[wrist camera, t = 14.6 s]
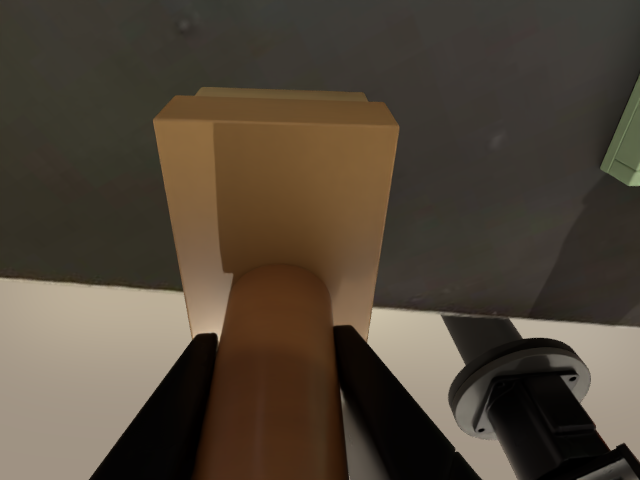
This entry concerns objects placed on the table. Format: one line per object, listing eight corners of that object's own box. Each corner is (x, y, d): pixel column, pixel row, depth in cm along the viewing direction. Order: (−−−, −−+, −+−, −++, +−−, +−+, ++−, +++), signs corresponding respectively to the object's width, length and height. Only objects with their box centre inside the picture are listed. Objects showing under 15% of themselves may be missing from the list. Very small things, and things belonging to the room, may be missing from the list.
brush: (346, 333, 15) (386, 644, 8) (221, 333, 15) (155, 654, 8) (373, 83, 10) (526, 326, 3) (190, 77, 10) (-45, 327, 3)
